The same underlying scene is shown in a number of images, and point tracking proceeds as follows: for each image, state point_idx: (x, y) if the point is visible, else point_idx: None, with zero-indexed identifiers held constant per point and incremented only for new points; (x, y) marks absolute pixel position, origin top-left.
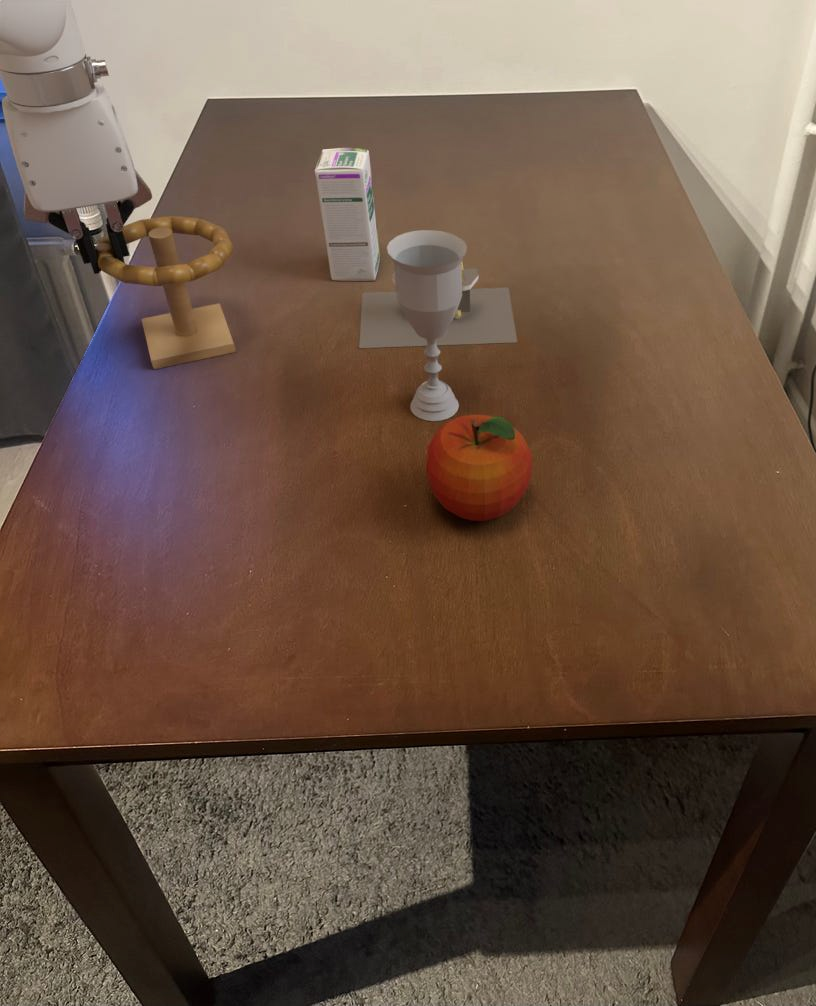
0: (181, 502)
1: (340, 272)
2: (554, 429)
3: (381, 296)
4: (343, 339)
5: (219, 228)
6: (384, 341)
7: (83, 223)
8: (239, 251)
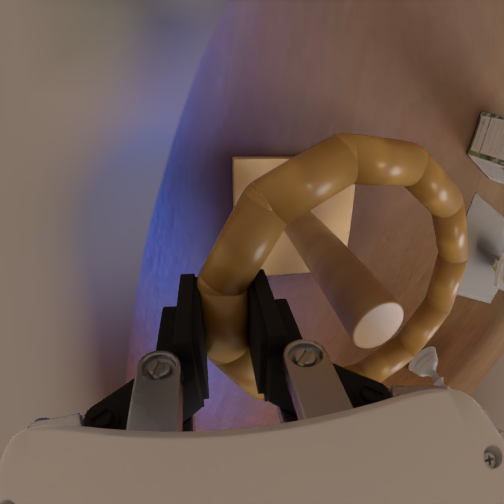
0: (239, 417)
1: (480, 163)
2: (445, 375)
3: (481, 208)
4: (430, 270)
5: (465, 262)
6: None
7: (192, 382)
8: (398, 14)
